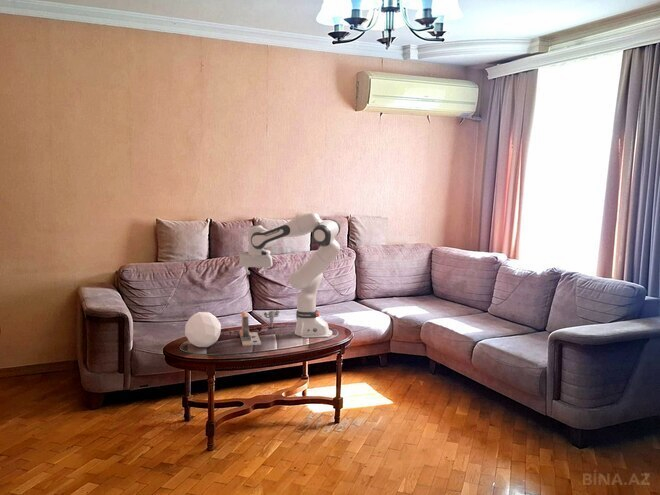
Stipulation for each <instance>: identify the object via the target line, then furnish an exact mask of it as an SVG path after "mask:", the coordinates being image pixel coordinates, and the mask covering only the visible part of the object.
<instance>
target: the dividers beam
mask: <svg viewBox="0 0 660 495" xmlns="http://www.w3.org/2000/svg"><path fill="white" fill-rule="evenodd" d="M249 333H250V329H249V316H248V315H247V316H244V317H243V335H241V336H240V335H239V337H240V340H241V343H242V346H244V347H248V346H250V347H251V345H250V341H251V336H250V335H249Z"/></svg>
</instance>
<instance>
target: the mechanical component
mask: <svg viewBox="0 0 660 495" xmlns="http://www.w3.org/2000/svg"><path fill="white" fill-rule="evenodd" d="M279 314H280V310H276V309H275V310H269V311H268V312H267V311H265V312H264V313H263V315H264V316H263V317H264V318H265V319H269V324H270V328H273V327H274V320H275V319H274V318H278V317H279Z"/></svg>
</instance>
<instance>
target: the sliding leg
mask: <svg viewBox="0 0 660 495" xmlns="http://www.w3.org/2000/svg"><path fill="white" fill-rule="evenodd" d="M244 316H248V312H247V311H242V312H241V329H239V337H240V336H241V335H243V317H244Z"/></svg>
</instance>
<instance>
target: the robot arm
mask: <svg viewBox="0 0 660 495" xmlns="http://www.w3.org/2000/svg"><path fill="white" fill-rule="evenodd" d="M247 231H248V232H247V240H248V246H247V249H248V250H247V251H241V252H238V253H239V254H238V257H239V258H238V259H239V260H238V265H239V267H240V268H244V270H245V272H246V275H250V274H251V271H250V270H248V269H249V268H263V271H261V274H262V275H264V276H265V275H266V271H267V269H268V268H271V267H273V257H272V255H271V254H272V253H271V250H268V249H265V248H271V247H273V246H275V245H276V244H277V242H278V240H279V239H282V238H283V239H285V238H292V237H293V238H294V237H302V236H305V235H308V234H309V233H312V239H313V240H314V241H315V242H316V243H317V244H318V246H319V247H318V249H317V250H316V252H314V254H313V255H312V256H311V257H310V258H309V259H308V260H307V261H306V262H305V263H303V264H302V265H301V266H300V267H298V268H297V269H296V270H295V271H294V272H292V273H291V274H290V275H289V276H288V277H289V278H288V281H289V285H290V286H291V288H292V289H296V290H300V292H299V294H298V295H297V298H296V304H297V305H296V312H295V315H296V317H295V318H296V324H295V325H296V326H295V331H294V335H296V336H298V337H301V338H303V339H304V338H328V337H331V336H333V331H332V330H331V329H329V324H328V322H327V321H326V320H324V319H323V318H322V317H321V316H320V310H317V309H316V308H317V306H316V304H317V294H318V291H319V287H320V285H321V283H322V282H323V280H324V272H325V271H326V270H327V269H328V268H329V267H330V265H331V264H332V263H333V262H334V261H335V259H336V257H337V256H338V254H339V253H340V250H341V246H340V245H341V244H339V243H338V241H337V240H336V237H337V236H338V235H339V234H340V232H341V225H340V222H338V221H337V220H335V219H331V218H325V217H324V218H323V219H321V217H320V216H319V214H318V213H316V212H309V213H305V214H302V215H299V216H296V217H293V219H291V220H289V221H287V222H285V223H284V224H281V225H280V226H278V227H274V228H273V229H270V230H269V229H266V228H265V227H264V226H262V225H261V224H255V225H251V226H249V228H248V230H247Z"/></svg>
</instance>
